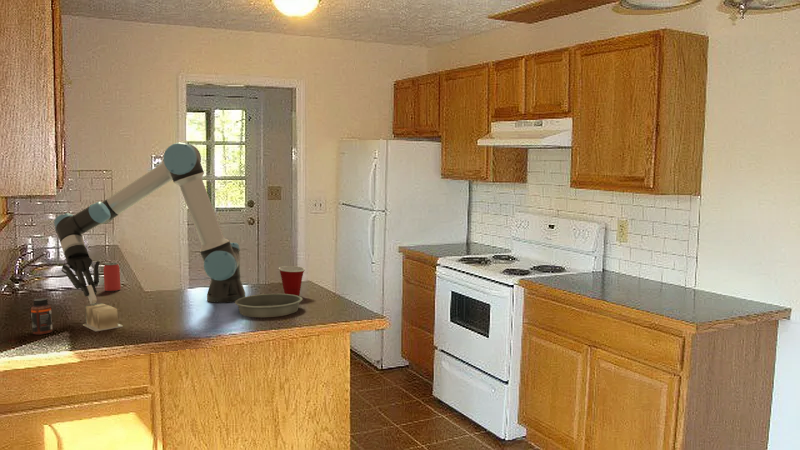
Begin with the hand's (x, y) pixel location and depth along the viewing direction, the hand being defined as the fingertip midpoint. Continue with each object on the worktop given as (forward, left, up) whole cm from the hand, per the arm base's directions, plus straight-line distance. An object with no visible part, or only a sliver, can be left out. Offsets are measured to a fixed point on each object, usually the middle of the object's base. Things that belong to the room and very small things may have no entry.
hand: (93, 302), depth 234 cm
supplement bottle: (+9, +15, -8) cm, 19 cm away
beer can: (+33, -57, -8) cm, 67 cm away
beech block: (0, -1, -4) cm, 4 cm away
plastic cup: (-52, -54, -8) cm, 76 cm away
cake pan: (-53, -27, -8) cm, 60 cm away
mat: (-5, +3, -7) cm, 10 cm away
